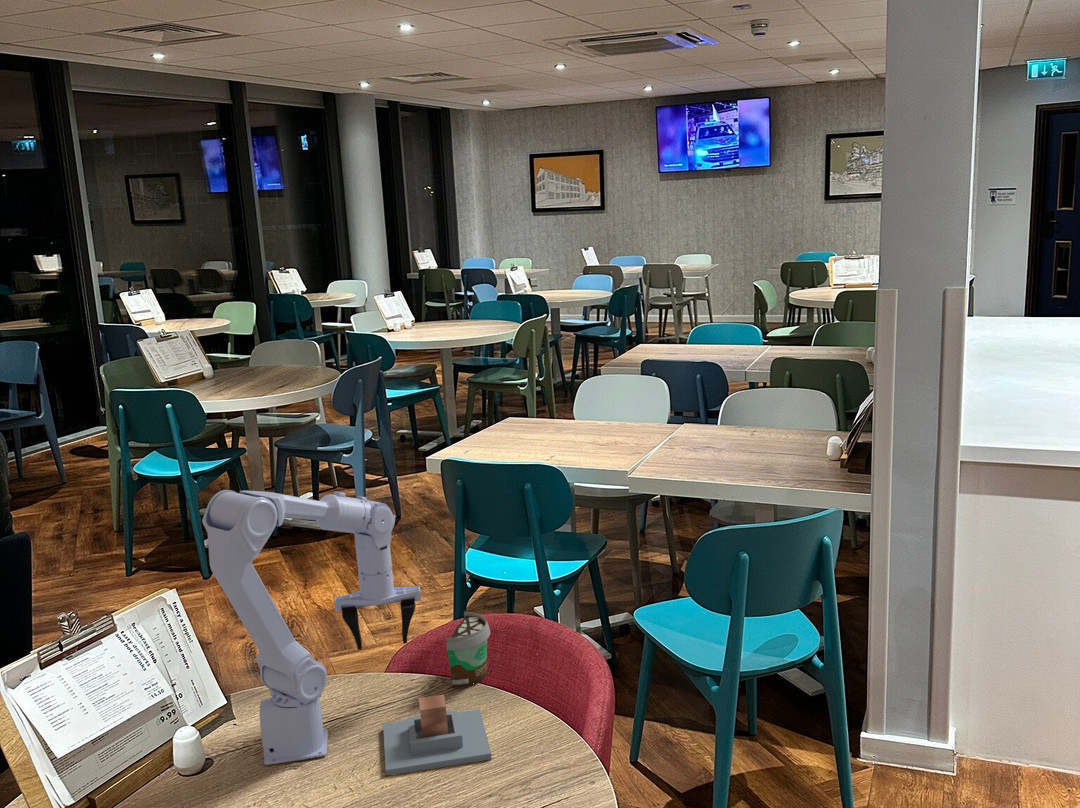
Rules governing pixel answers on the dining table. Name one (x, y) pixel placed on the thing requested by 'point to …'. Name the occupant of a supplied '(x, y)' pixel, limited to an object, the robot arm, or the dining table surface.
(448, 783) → the dining table surface
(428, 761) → the base board
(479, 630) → the food container
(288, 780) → the dining table surface
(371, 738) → the dining table surface
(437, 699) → the terracotta block
